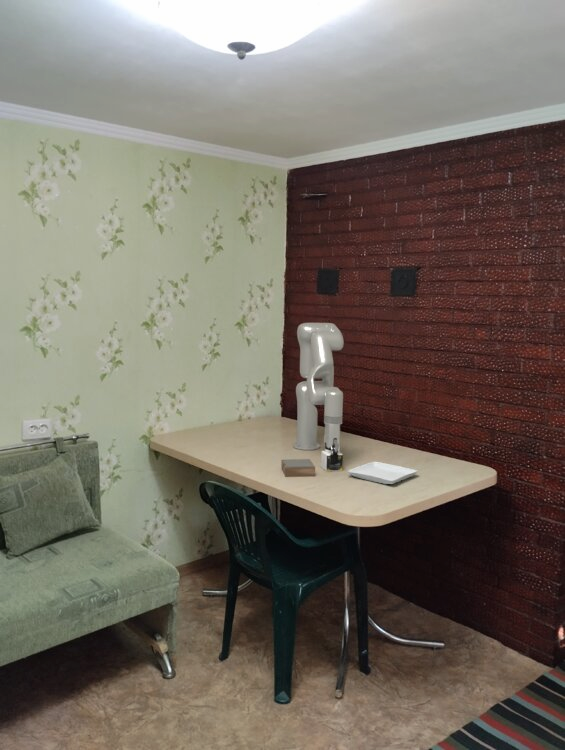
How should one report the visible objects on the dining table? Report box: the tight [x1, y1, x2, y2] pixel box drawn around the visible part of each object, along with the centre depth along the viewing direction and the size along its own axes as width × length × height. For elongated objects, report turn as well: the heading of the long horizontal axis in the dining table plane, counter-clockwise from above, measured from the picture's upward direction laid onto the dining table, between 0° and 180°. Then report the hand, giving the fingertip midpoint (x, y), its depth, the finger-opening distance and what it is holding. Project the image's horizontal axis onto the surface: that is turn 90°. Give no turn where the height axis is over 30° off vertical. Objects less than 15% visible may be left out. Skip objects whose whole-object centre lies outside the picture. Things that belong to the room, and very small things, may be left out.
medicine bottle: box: [320, 442, 344, 473], centre depth 267 cm, size 7×7×12 cm
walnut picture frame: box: [280, 458, 316, 478], centre depth 261 cm, size 12×12×4 cm
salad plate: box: [347, 461, 419, 485], centre depth 257 cm, size 21×21×3 cm
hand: (331, 460), depth 267 cm, fingers closed on medicine bottle, 7 cm apart
